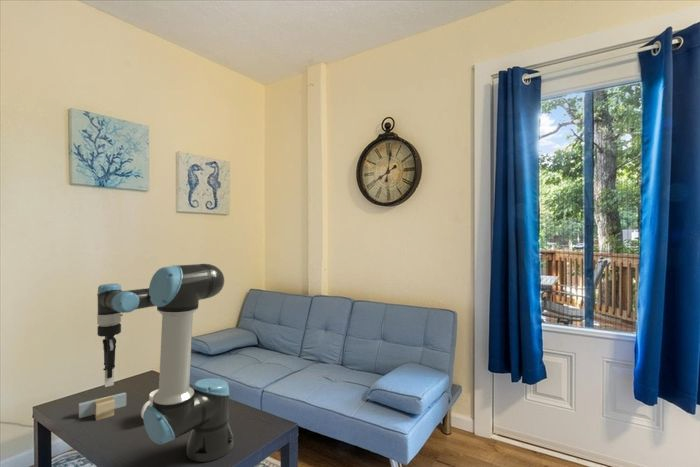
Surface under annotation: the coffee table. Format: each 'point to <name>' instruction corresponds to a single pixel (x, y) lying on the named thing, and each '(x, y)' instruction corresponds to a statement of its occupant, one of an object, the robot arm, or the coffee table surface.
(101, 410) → the block
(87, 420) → the coffee table surface
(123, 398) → the board
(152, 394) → the mug
